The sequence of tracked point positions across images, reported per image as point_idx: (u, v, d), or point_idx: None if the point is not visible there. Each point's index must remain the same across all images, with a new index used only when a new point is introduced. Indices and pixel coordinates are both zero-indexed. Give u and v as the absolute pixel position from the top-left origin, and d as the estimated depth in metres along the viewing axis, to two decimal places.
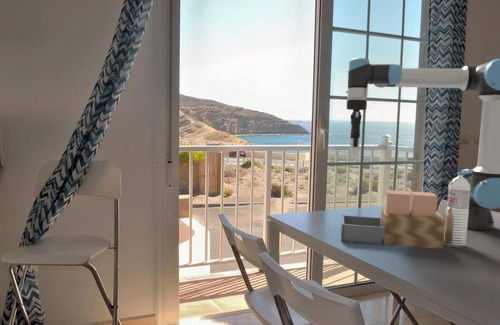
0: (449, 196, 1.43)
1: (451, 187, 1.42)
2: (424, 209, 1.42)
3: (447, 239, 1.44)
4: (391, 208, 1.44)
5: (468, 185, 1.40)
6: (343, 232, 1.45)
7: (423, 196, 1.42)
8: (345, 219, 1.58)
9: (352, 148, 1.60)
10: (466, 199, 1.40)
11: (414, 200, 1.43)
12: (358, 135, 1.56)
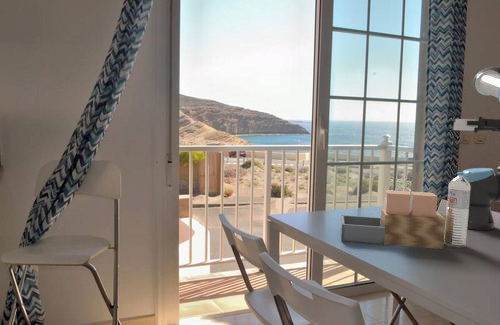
0: (449, 196, 1.43)
1: (451, 187, 1.42)
2: (424, 209, 1.42)
3: (447, 239, 1.44)
4: (391, 208, 1.44)
5: (468, 185, 1.40)
6: (343, 232, 1.45)
7: (423, 196, 1.42)
8: (345, 219, 1.58)
9: None
10: (466, 199, 1.40)
11: (414, 200, 1.43)
12: None
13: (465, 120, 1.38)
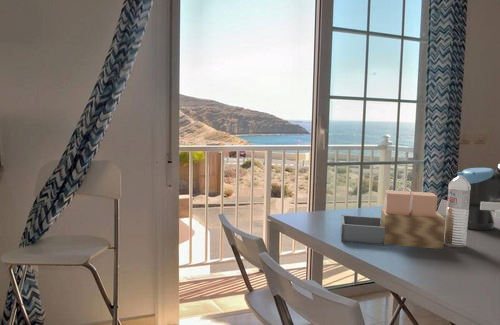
0: (449, 196, 1.43)
1: (451, 187, 1.42)
2: (424, 209, 1.42)
3: (447, 239, 1.44)
4: (391, 208, 1.44)
5: (468, 185, 1.40)
6: (343, 232, 1.45)
7: (423, 196, 1.42)
8: (345, 219, 1.58)
9: None
10: (466, 199, 1.40)
11: (414, 200, 1.43)
12: None
13: None
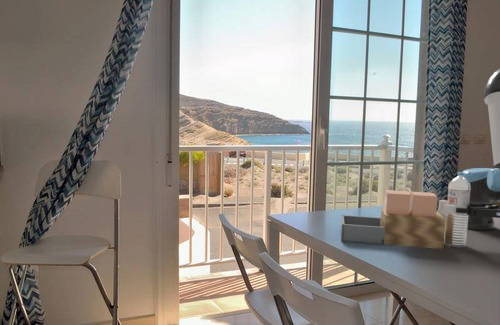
0: (449, 196, 1.43)
1: (451, 187, 1.42)
2: (424, 209, 1.42)
3: (447, 239, 1.44)
4: (391, 208, 1.44)
5: (468, 185, 1.40)
6: (343, 232, 1.45)
7: (423, 196, 1.42)
8: (345, 219, 1.58)
9: None
10: (466, 199, 1.40)
11: (414, 200, 1.43)
12: None
13: (454, 207, 1.40)
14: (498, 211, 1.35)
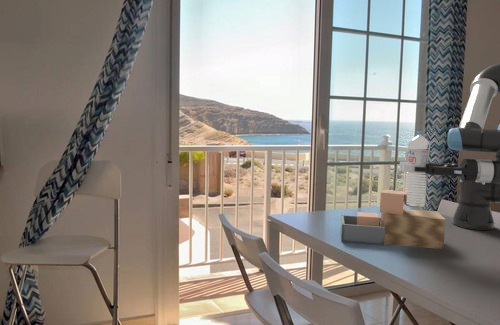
0: (408, 156, 1.41)
1: (410, 146, 1.40)
2: (391, 206, 1.45)
3: (406, 199, 1.42)
4: None
5: (427, 144, 1.38)
6: (343, 232, 1.45)
7: (390, 194, 1.44)
8: (345, 219, 1.58)
9: None
10: (425, 158, 1.39)
11: (381, 197, 1.46)
12: None
13: (413, 166, 1.38)
14: (456, 169, 1.34)
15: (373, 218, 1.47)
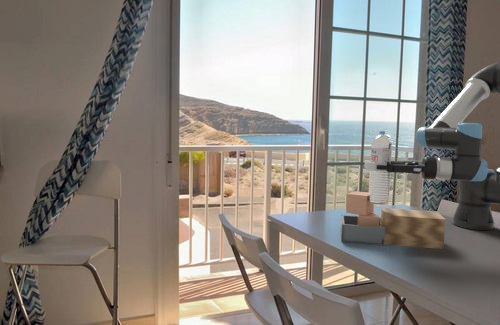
0: (371, 154, 1.46)
1: (372, 145, 1.45)
2: (355, 207, 1.51)
3: (370, 197, 1.47)
4: None
5: (388, 143, 1.43)
6: (343, 232, 1.45)
7: (354, 195, 1.51)
8: (345, 219, 1.58)
9: None
10: (386, 157, 1.44)
11: (347, 198, 1.53)
12: None
13: (375, 164, 1.43)
14: (415, 167, 1.39)
15: (373, 218, 1.47)
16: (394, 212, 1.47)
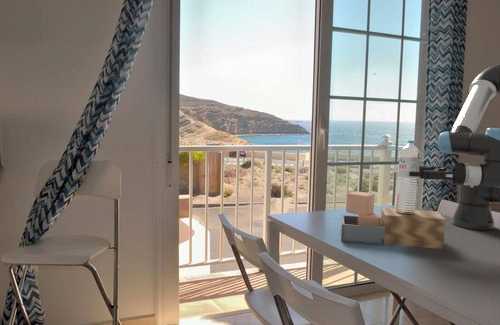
0: (399, 164, 1.45)
1: (401, 155, 1.44)
2: (356, 207, 1.51)
3: (397, 206, 1.46)
4: None
5: (417, 152, 1.42)
6: (343, 232, 1.45)
7: (355, 195, 1.51)
8: (345, 219, 1.58)
9: None
10: (415, 167, 1.42)
11: (347, 198, 1.53)
12: None
13: (407, 170, 1.39)
14: (447, 173, 1.37)
15: (373, 218, 1.47)
16: (394, 212, 1.47)
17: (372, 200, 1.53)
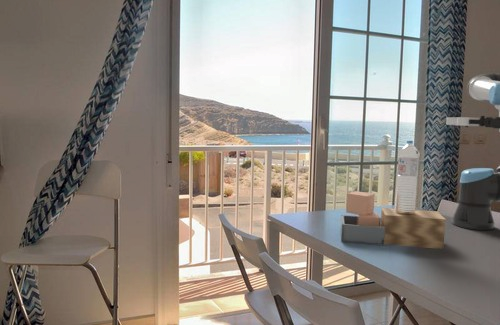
0: (399, 164, 1.45)
1: (400, 155, 1.44)
2: (356, 207, 1.51)
3: (397, 207, 1.46)
4: None
5: (416, 152, 1.42)
6: (343, 232, 1.45)
7: (355, 195, 1.51)
8: (345, 219, 1.58)
9: None
10: (414, 167, 1.42)
11: (347, 198, 1.53)
12: None
13: (467, 118, 1.37)
14: None
15: (373, 218, 1.47)
16: (394, 212, 1.47)
17: (372, 200, 1.53)
